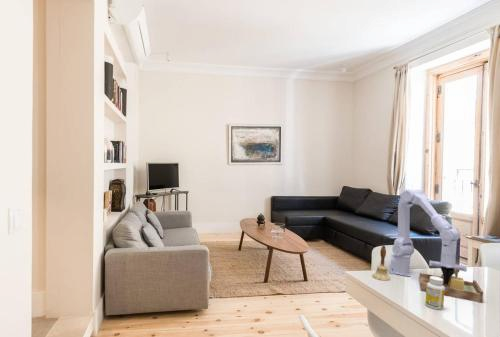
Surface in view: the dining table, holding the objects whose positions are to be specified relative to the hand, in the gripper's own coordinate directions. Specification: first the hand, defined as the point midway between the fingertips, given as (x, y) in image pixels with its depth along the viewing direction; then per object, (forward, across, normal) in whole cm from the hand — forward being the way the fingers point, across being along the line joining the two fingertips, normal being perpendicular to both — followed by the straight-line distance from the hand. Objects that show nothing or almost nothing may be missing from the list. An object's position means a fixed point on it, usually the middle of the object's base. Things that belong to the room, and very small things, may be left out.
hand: (446, 283), depth 151 cm
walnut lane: (+3, 0, 0) cm, 3 cm away
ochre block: (+1, +4, 0) cm, 4 cm away
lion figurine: (+3, +4, +19) cm, 19 cm away
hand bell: (+3, -28, 0) cm, 28 cm away
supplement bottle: (+3, -6, -24) cm, 25 cm away
